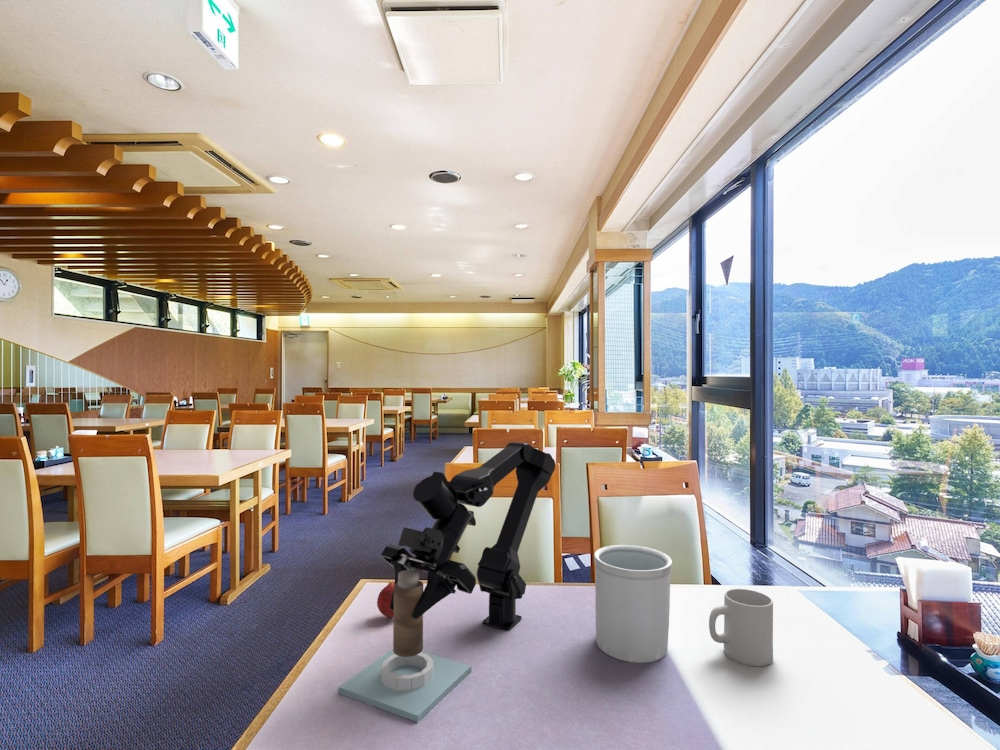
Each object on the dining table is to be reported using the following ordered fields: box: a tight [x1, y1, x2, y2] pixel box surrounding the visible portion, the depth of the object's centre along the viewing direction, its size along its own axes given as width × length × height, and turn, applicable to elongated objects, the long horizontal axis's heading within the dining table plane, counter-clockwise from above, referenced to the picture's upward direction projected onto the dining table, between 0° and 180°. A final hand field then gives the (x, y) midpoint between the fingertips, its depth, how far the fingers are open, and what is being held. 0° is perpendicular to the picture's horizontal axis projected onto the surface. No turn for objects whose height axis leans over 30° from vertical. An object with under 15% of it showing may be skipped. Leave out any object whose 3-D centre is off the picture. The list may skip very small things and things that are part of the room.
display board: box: [337, 648, 472, 723], centre depth 92 cm, size 16×16×3 cm
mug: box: [708, 588, 774, 667], centre depth 102 cm, size 12×8×11 cm
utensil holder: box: [593, 544, 673, 664], centre depth 105 cm, size 15×15×18 cm
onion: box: [376, 579, 395, 619], centre depth 116 cm, size 6×6×8 cm
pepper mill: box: [392, 569, 424, 657], centre depth 92 cm, size 5×5×13 cm
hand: (402, 613), depth 91 cm, fingers closed on pepper mill, 5 cm apart
